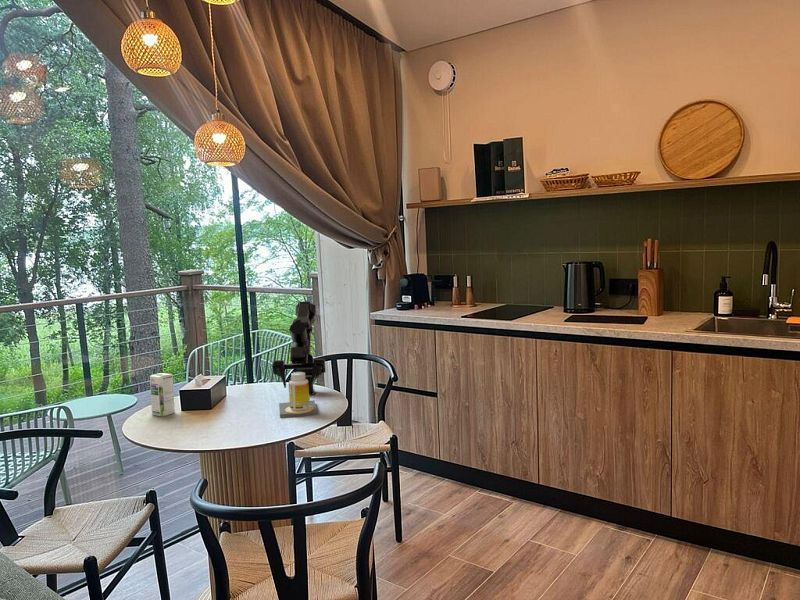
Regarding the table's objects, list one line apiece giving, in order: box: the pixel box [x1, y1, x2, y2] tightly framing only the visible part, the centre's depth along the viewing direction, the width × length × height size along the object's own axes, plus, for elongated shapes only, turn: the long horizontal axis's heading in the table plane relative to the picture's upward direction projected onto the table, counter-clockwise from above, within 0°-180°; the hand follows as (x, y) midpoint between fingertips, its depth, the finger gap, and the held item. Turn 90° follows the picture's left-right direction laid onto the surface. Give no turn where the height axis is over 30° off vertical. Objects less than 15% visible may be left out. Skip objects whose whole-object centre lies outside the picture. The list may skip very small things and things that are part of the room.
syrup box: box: [149, 372, 176, 417], centre depth 210 cm, size 6×6×14 cm
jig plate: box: [278, 400, 318, 418], centre depth 210 cm, size 16×13×2 cm
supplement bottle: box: [288, 371, 310, 411], centre depth 207 cm, size 7×7×13 cm
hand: (298, 387), depth 206 cm, fingers open, 9 cm apart
